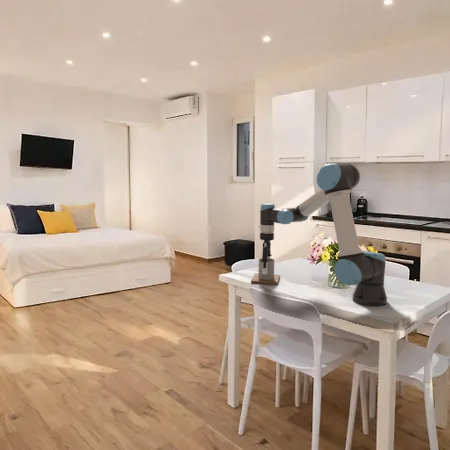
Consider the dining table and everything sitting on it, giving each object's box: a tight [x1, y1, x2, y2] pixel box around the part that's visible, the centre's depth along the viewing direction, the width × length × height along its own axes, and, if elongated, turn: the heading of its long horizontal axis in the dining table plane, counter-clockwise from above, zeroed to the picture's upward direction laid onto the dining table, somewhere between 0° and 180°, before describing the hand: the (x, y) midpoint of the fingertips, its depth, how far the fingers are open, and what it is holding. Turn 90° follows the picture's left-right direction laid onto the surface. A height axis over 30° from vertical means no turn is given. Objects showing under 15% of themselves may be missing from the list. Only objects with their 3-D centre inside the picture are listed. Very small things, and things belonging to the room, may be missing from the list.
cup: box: [258, 257, 275, 280], centre depth 232 cm, size 8×8×10 cm
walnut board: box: [250, 272, 281, 286], centre depth 233 cm, size 16×14×2 cm
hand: (266, 271), depth 232 cm, fingers open, 13 cm apart
